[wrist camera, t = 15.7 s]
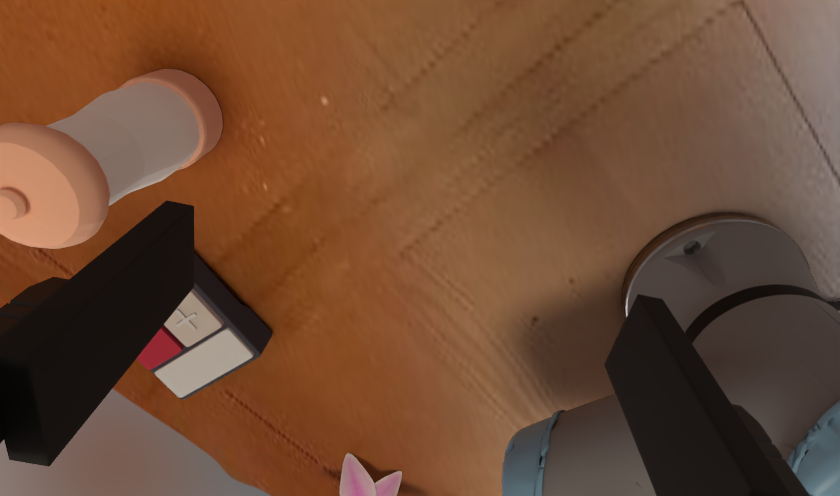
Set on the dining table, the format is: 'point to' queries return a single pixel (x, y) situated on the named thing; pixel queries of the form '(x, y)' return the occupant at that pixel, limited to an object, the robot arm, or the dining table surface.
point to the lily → (366, 481)
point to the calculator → (204, 337)
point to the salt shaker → (101, 156)
